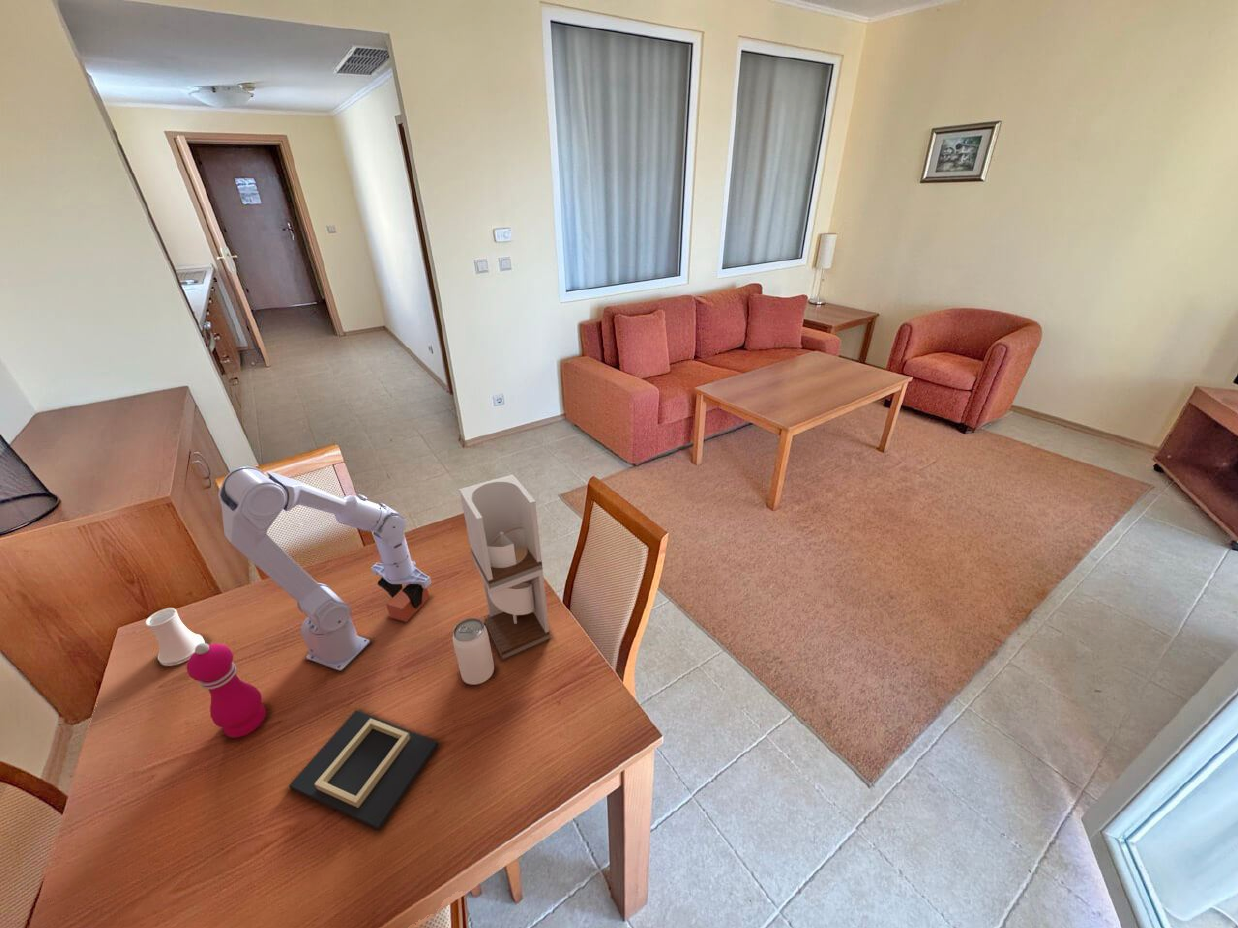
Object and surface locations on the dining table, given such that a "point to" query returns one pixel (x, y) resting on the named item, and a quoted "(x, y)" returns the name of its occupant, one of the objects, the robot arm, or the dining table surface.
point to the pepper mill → (226, 690)
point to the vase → (173, 637)
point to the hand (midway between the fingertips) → (409, 602)
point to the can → (473, 651)
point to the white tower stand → (508, 561)
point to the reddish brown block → (404, 605)
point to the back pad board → (365, 768)
